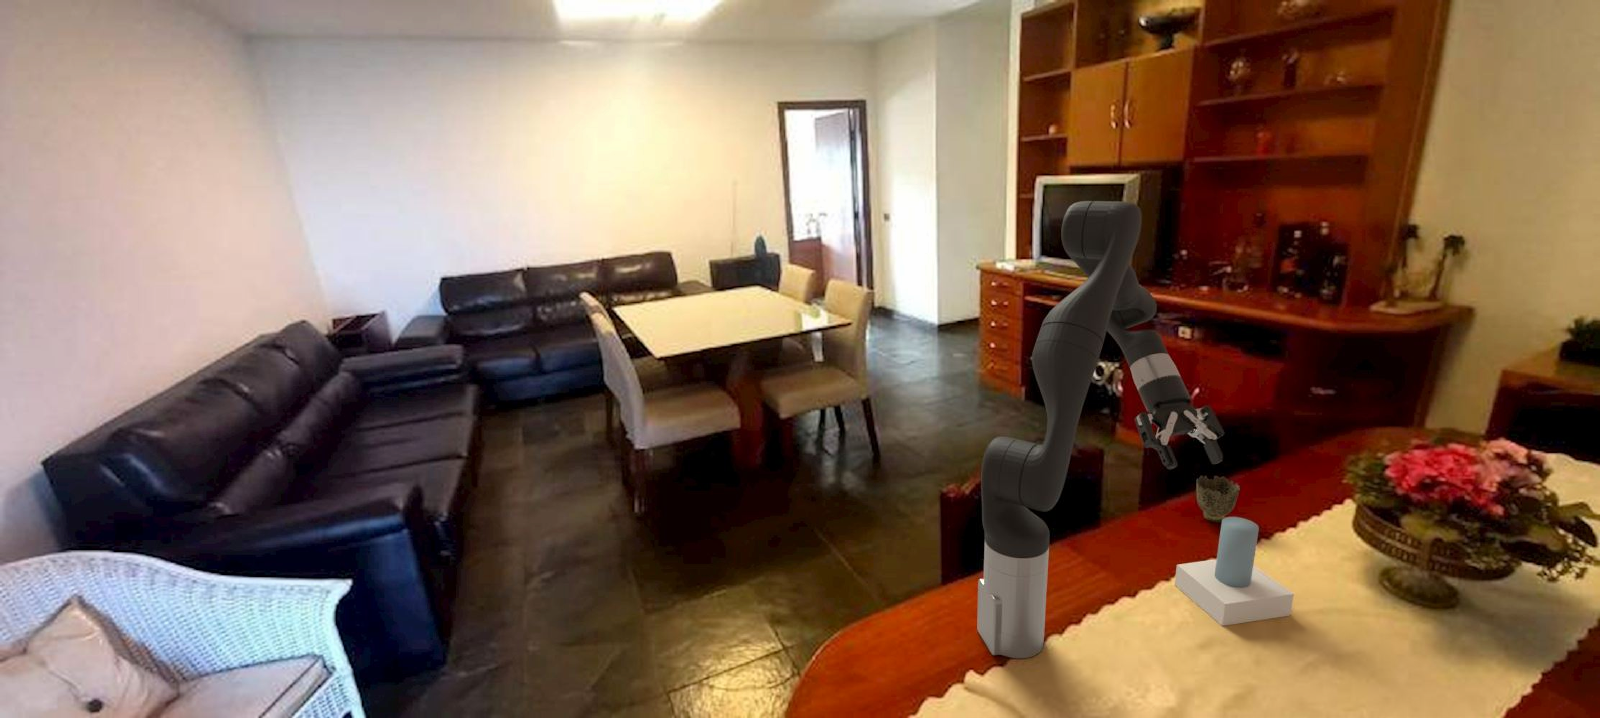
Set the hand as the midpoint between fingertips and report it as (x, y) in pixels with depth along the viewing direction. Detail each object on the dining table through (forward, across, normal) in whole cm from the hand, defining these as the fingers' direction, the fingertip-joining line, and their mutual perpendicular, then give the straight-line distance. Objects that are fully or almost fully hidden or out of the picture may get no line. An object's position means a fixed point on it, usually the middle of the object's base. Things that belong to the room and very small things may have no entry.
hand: (1195, 465), depth 116 cm
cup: (+5, +16, +23) cm, 28 cm away
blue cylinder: (+19, 0, +3) cm, 19 cm away
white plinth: (+22, 0, +6) cm, 22 cm away
